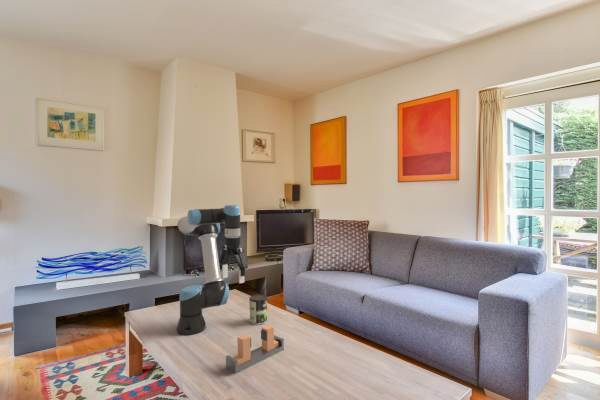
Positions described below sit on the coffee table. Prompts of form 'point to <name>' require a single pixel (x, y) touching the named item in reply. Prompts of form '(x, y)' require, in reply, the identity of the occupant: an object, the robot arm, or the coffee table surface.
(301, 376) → the coffee table surface
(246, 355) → the block
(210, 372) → the coffee table surface
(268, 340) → the fixed finger
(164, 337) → the coffee table surface
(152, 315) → the coffee table surface
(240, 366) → the rail
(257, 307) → the coffee can
